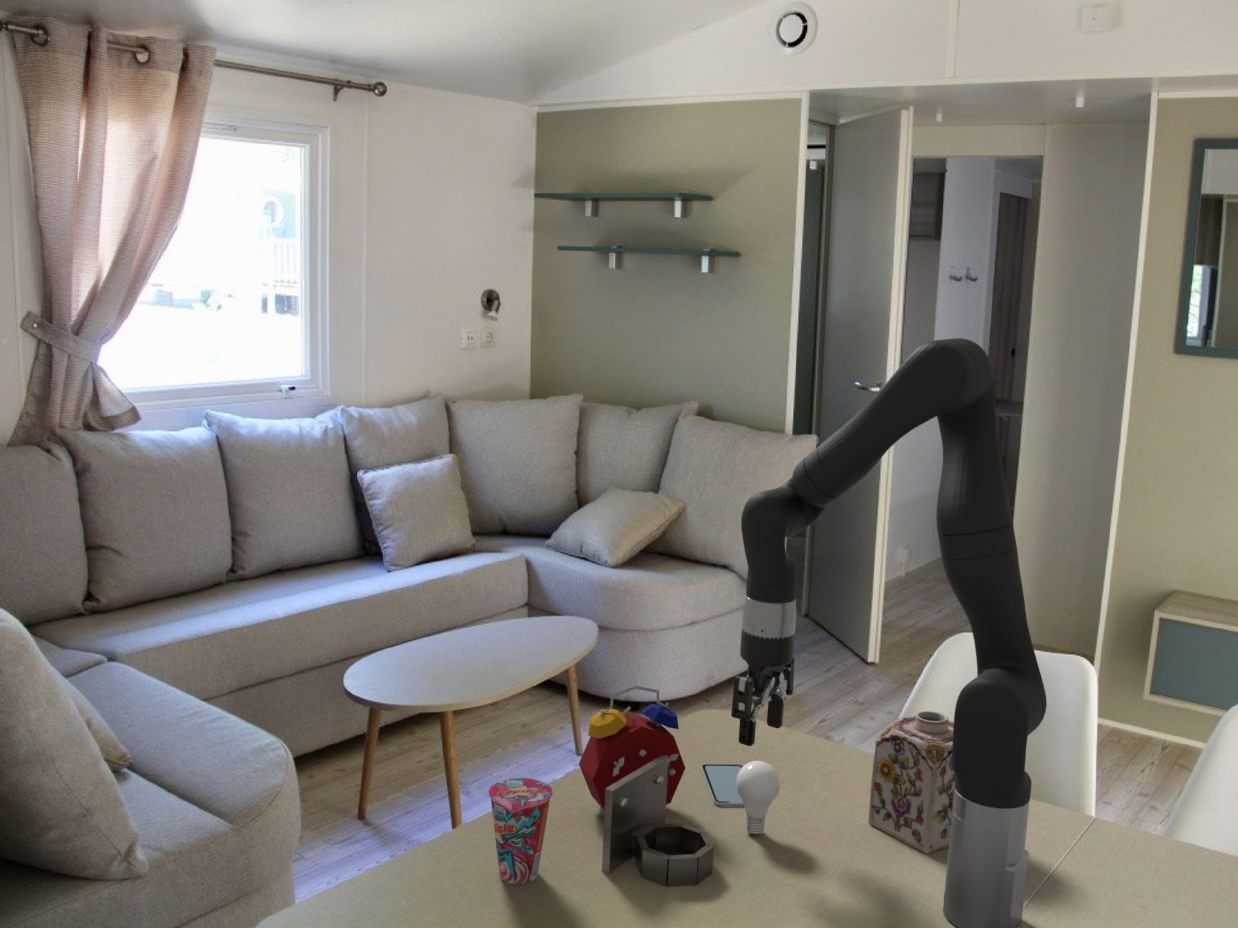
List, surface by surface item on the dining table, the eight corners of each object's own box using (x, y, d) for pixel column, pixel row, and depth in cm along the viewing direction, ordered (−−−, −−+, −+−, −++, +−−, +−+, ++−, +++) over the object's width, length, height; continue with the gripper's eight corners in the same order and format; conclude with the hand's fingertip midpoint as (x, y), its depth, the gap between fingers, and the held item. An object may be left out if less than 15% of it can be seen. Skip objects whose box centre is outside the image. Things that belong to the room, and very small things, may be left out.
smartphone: (743, 763, 204) (762, 803, 189) (743, 768, 204) (761, 808, 189) (699, 763, 203) (714, 803, 188) (699, 768, 203) (714, 808, 188)
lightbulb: (774, 846, 176) (779, 774, 174) (730, 840, 178) (735, 768, 176) (778, 826, 183) (782, 756, 181) (735, 820, 184) (739, 751, 182)
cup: (479, 863, 168) (481, 781, 166) (539, 855, 171) (542, 774, 169) (497, 898, 160) (499, 811, 157) (560, 888, 163) (563, 803, 160)
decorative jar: (926, 856, 175) (937, 737, 172) (865, 824, 185) (874, 710, 181) (979, 835, 182) (991, 720, 179) (918, 805, 192) (928, 695, 188)
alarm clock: (666, 796, 191) (672, 673, 187) (690, 821, 183) (696, 693, 179) (576, 809, 185) (581, 682, 182) (596, 835, 177) (601, 703, 174)
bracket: (730, 859, 172) (735, 778, 170) (677, 900, 161) (682, 814, 159) (657, 833, 179) (661, 755, 177) (601, 870, 167) (605, 788, 165)
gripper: (768, 645, 167) (760, 757, 170) (814, 621, 178) (806, 727, 181) (720, 633, 171) (713, 743, 174) (768, 610, 182) (760, 714, 185)
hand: (760, 735), depth 177 cm, fingers open, 8 cm apart
